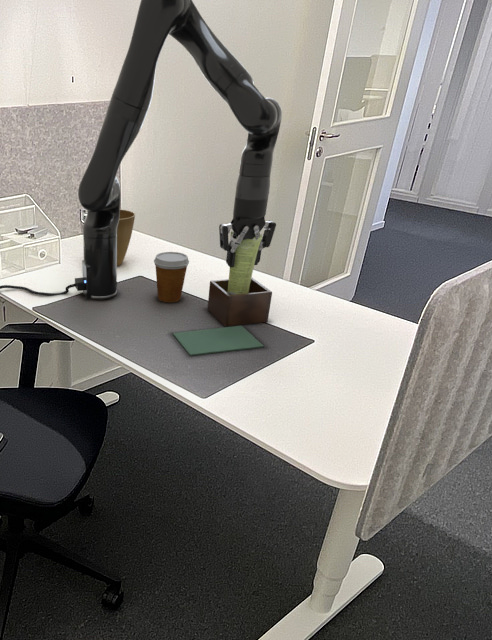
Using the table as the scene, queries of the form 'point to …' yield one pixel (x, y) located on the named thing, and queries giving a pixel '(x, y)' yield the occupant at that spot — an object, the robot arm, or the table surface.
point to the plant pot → (124, 233)
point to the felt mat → (217, 340)
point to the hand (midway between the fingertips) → (242, 265)
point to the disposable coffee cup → (170, 275)
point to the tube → (243, 266)
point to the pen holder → (239, 303)
